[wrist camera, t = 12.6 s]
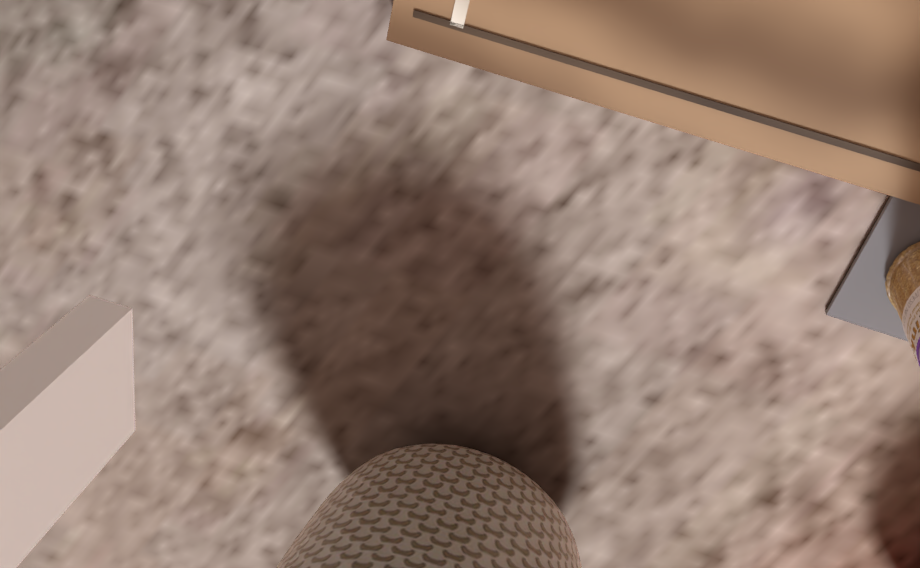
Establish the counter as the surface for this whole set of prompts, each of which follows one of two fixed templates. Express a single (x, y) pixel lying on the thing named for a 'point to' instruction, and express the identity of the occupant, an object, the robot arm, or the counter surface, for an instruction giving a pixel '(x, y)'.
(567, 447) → the counter surface
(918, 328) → the spice jar
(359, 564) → the planter
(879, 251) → the end pad
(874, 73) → the board
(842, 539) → the counter surface
